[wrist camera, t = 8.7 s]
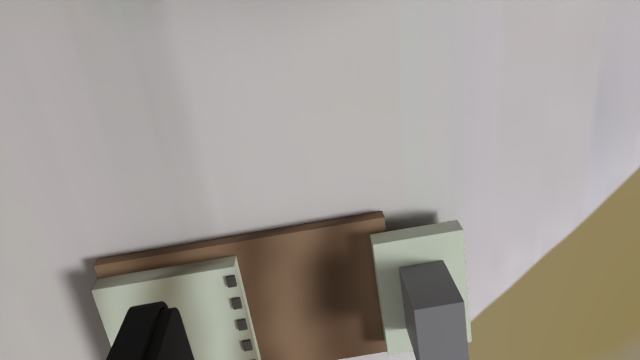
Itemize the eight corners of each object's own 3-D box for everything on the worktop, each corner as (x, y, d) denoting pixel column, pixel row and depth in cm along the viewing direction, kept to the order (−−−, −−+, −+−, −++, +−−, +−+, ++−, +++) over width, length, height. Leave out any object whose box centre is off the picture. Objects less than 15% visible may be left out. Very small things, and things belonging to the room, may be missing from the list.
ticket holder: (382, 211, 41) (388, 228, 38) (399, 340, 45) (405, 363, 42) (98, 258, 41) (85, 279, 38) (140, 383, 45) (132, 409, 42)
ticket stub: (456, 219, 40) (487, 268, 34) (465, 328, 43) (494, 390, 37) (369, 234, 40) (385, 285, 34) (385, 342, 43) (401, 406, 37)
